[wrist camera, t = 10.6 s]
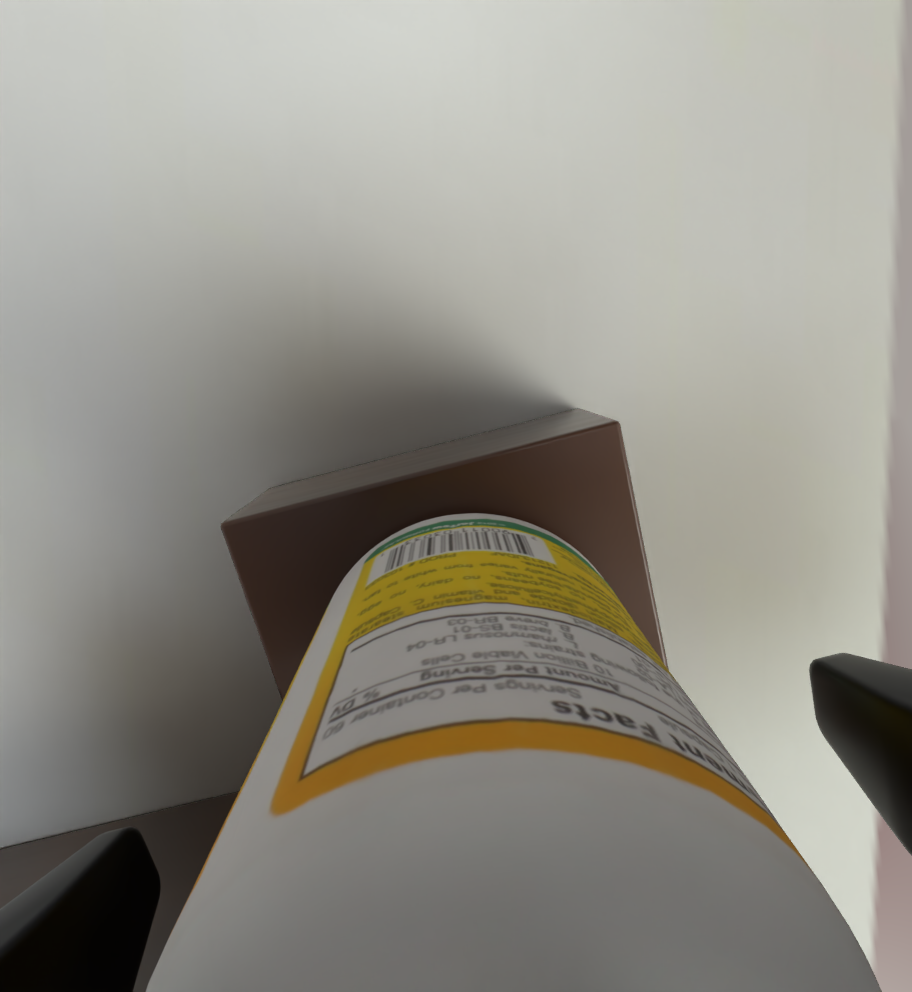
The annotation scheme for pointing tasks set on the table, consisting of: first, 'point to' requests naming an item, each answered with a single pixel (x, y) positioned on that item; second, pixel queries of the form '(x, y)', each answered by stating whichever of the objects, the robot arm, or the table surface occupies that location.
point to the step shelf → (342, 543)
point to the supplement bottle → (498, 803)
